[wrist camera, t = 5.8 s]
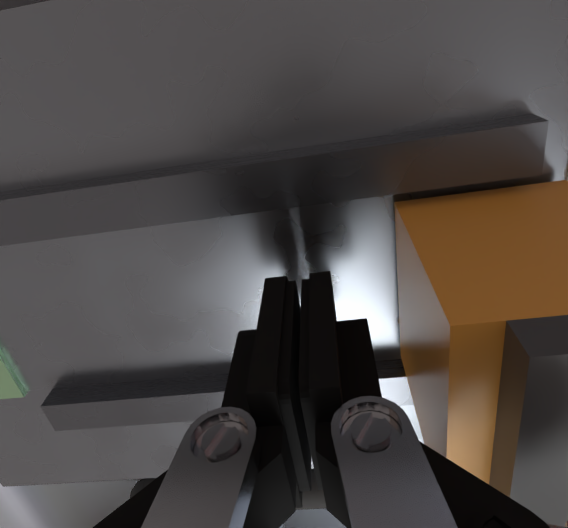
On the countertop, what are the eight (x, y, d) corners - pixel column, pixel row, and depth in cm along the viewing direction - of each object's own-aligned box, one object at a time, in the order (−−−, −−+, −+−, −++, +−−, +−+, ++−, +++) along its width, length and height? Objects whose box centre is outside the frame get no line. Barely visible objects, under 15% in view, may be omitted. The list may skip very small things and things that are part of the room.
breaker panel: (734, -127, 9) (884, -177, 7) (597, 405, 17) (644, 471, 15) (-221, 64, 12) (-352, 77, 10) (29, 445, 20) (-9, 505, 18)
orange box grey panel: (565, 179, 10) (803, 333, 5) (540, 343, 13) (688, 555, 8) (394, 202, 11) (467, 362, 6) (400, 355, 13) (456, 562, 8)
